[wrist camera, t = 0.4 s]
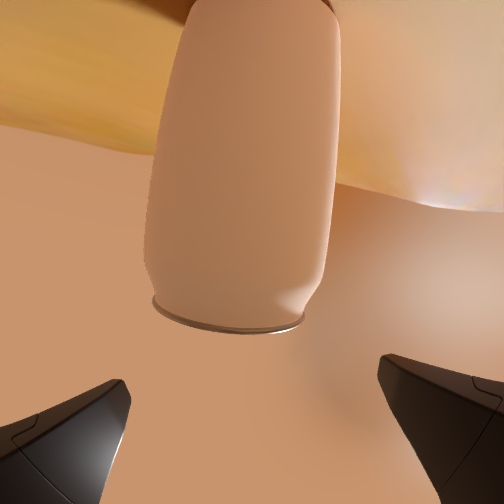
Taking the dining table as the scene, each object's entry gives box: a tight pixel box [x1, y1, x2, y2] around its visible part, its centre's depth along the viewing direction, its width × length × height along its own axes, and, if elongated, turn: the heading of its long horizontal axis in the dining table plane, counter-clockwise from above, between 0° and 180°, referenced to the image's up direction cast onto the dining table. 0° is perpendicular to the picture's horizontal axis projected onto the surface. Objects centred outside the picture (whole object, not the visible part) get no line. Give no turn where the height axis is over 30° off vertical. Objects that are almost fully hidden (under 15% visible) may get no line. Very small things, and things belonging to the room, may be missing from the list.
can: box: [144, 0, 341, 335], centre depth 10 cm, size 6×6×12 cm
